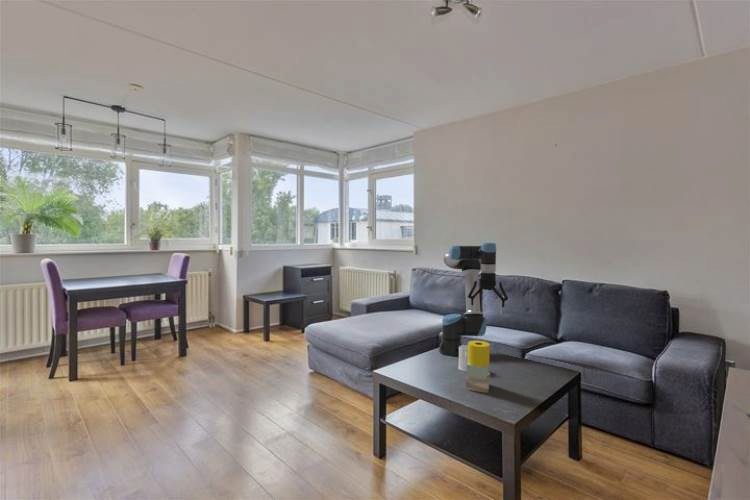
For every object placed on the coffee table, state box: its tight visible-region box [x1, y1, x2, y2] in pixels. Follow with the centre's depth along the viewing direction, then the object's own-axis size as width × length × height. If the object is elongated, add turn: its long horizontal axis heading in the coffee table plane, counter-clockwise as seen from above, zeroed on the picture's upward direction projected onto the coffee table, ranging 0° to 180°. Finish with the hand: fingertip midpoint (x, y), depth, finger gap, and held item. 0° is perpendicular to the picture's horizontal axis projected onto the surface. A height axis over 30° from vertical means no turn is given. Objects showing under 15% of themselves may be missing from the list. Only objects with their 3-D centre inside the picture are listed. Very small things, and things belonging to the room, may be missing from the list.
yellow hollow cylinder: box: [467, 340, 491, 367], centre depth 179 cm, size 10×10×9 cm
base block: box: [465, 372, 491, 394], centre depth 179 cm, size 10×10×6 cm
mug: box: [457, 344, 468, 373], centre depth 201 cm, size 12×8×12 cm
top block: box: [466, 363, 490, 380], centre depth 179 cm, size 9×9×6 cm
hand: (487, 312), depth 195 cm, fingers open, 13 cm apart
